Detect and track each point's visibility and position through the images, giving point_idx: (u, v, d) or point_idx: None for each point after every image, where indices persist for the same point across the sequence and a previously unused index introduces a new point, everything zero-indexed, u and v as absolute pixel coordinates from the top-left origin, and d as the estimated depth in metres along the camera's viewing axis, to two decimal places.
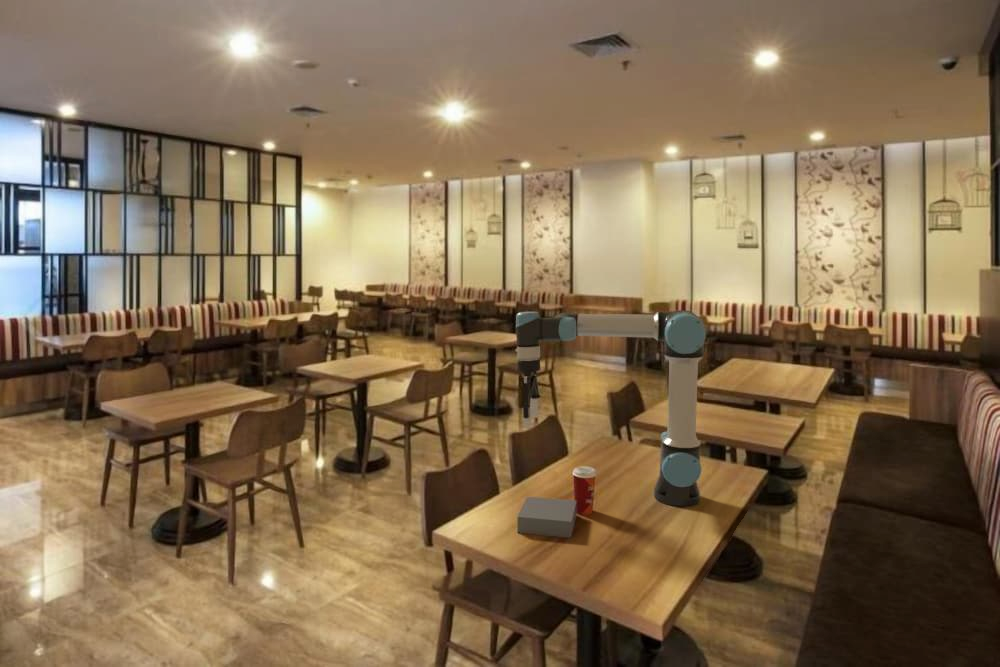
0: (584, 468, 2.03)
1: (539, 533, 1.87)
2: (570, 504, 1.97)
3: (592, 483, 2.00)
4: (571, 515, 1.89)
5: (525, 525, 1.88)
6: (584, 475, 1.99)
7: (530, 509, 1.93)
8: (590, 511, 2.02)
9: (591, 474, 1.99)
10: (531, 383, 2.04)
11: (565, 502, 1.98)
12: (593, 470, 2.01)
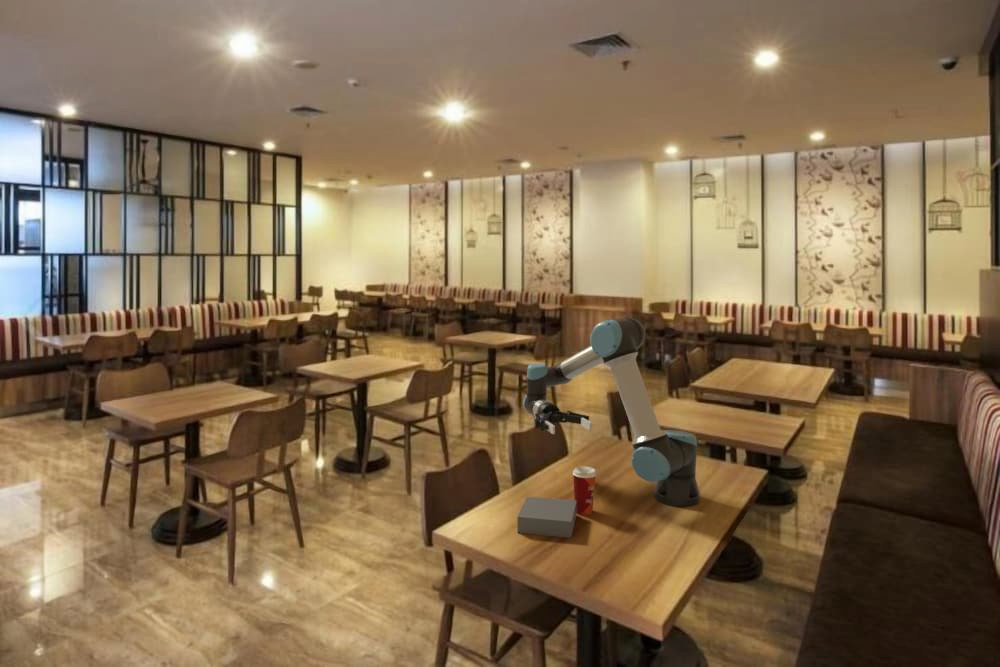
0: (584, 468, 2.03)
1: (539, 533, 1.87)
2: (570, 504, 1.97)
3: (592, 483, 2.00)
4: (571, 515, 1.89)
5: (525, 525, 1.88)
6: (584, 475, 1.99)
7: (530, 509, 1.93)
8: (590, 511, 2.02)
9: (591, 474, 1.99)
10: None
11: (565, 502, 1.98)
12: (593, 470, 2.01)
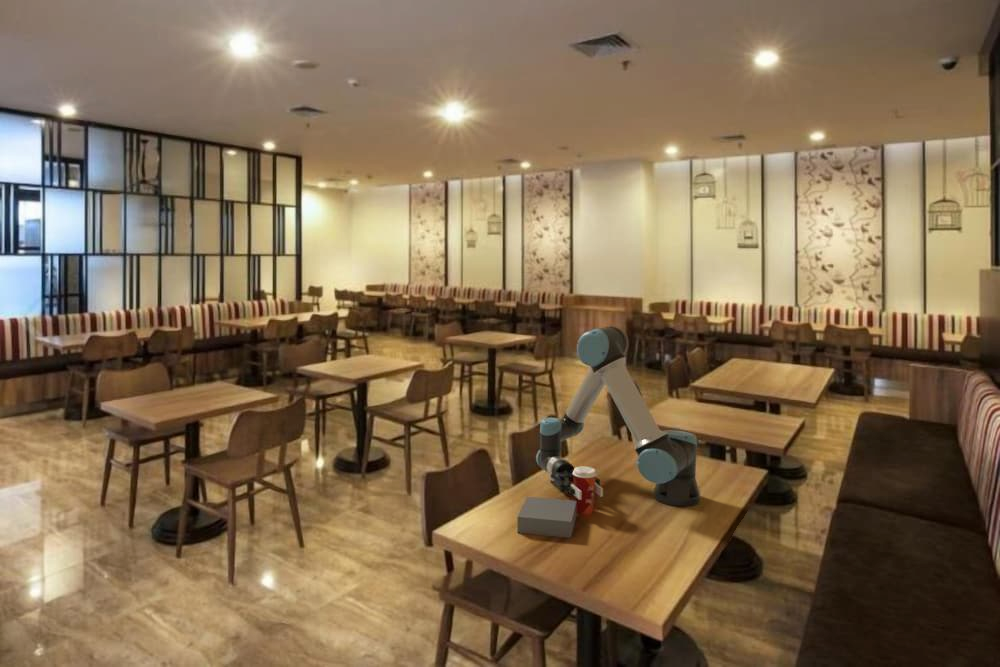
0: (584, 468, 2.03)
1: (539, 533, 1.87)
2: (570, 504, 1.97)
3: (592, 483, 2.00)
4: (571, 515, 1.89)
5: (525, 525, 1.88)
6: (584, 475, 1.99)
7: (530, 509, 1.93)
8: (590, 511, 2.02)
9: (591, 474, 1.99)
10: (564, 475, 2.11)
11: (565, 502, 1.98)
12: (593, 470, 2.01)
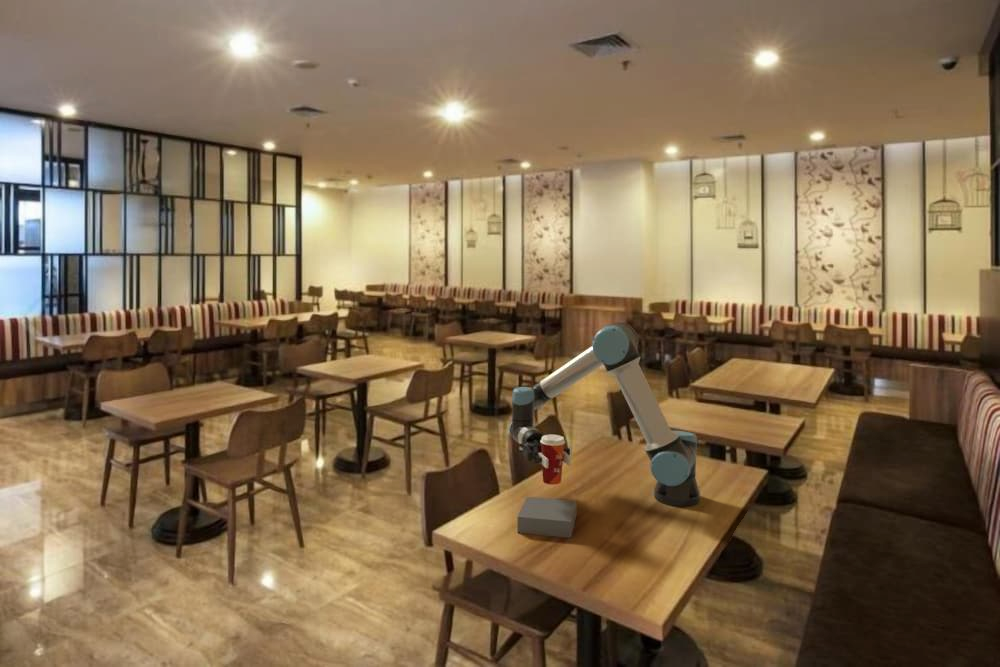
0: (552, 436, 1.95)
1: (539, 533, 1.87)
2: (570, 504, 1.97)
3: (560, 451, 1.92)
4: (571, 515, 1.89)
5: (525, 525, 1.88)
6: (552, 443, 1.90)
7: (530, 509, 1.93)
8: (558, 481, 1.93)
9: (559, 442, 1.91)
10: (533, 444, 2.03)
11: (565, 502, 1.98)
12: (562, 438, 1.93)
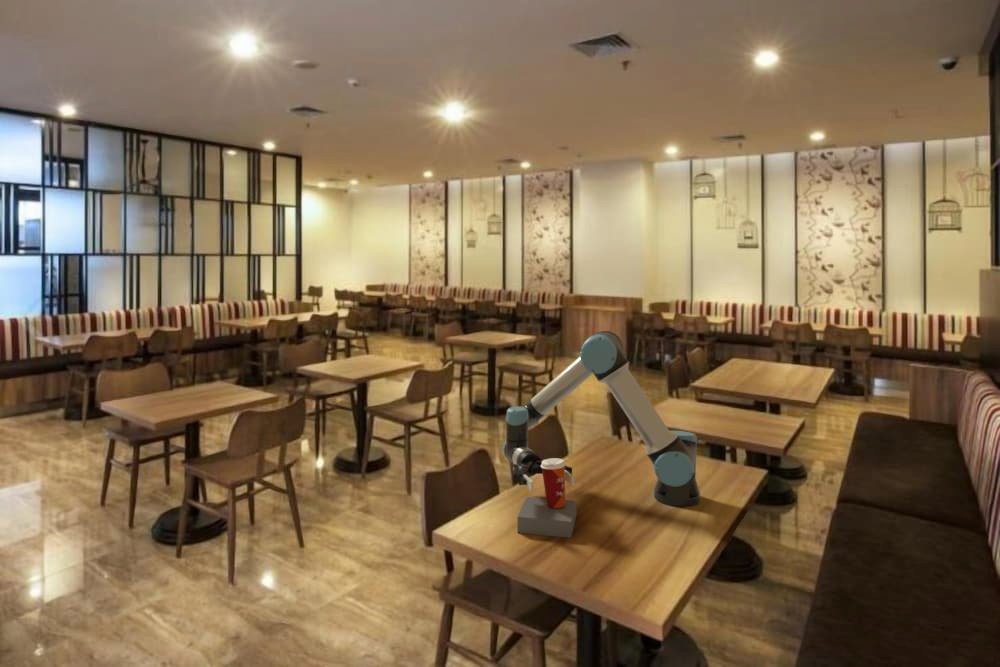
0: (552, 460, 1.96)
1: (539, 533, 1.87)
2: (570, 504, 1.97)
3: (561, 474, 1.92)
4: (571, 515, 1.89)
5: (525, 525, 1.88)
6: (552, 466, 1.91)
7: (530, 509, 1.93)
8: (562, 504, 1.93)
9: (559, 465, 1.91)
10: None
11: (565, 502, 1.98)
12: (561, 461, 1.94)
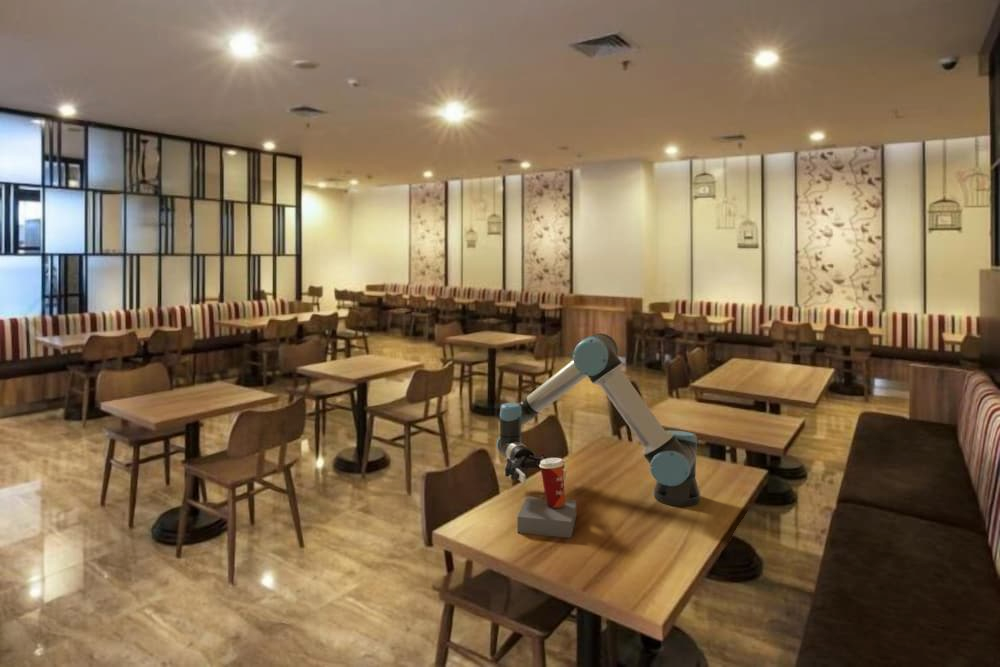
0: (551, 459, 1.96)
1: (539, 533, 1.87)
2: (570, 504, 1.97)
3: (560, 473, 1.92)
4: (571, 515, 1.89)
5: (525, 525, 1.88)
6: (550, 465, 1.91)
7: (530, 509, 1.93)
8: (562, 503, 1.93)
9: (558, 464, 1.92)
10: None
11: (565, 502, 1.98)
12: (560, 460, 1.94)
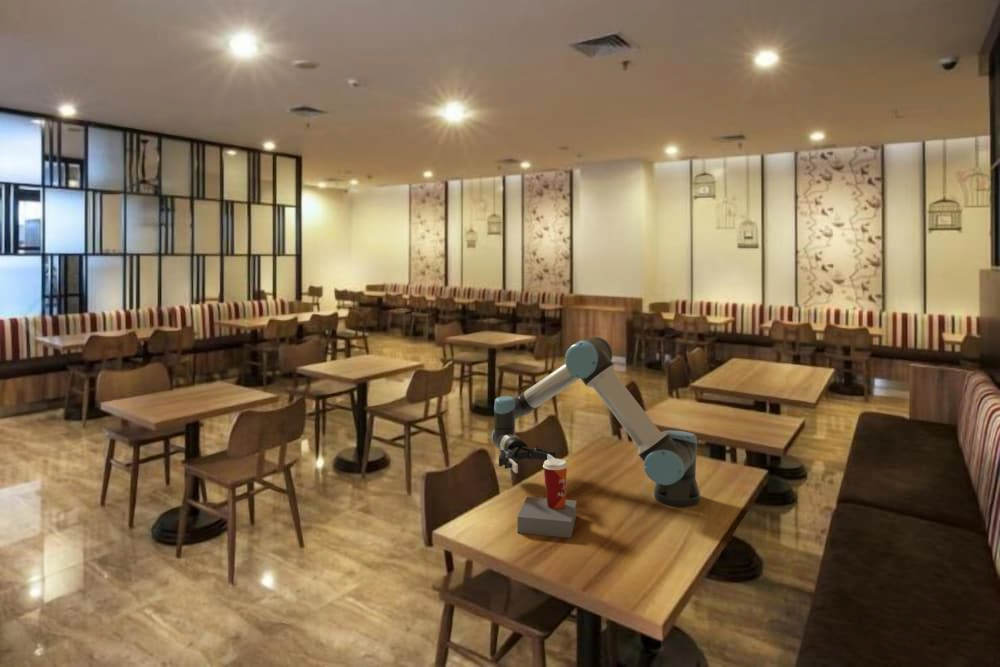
0: (555, 460, 1.95)
1: (539, 533, 1.87)
2: (570, 504, 1.97)
3: (563, 475, 1.92)
4: (571, 515, 1.89)
5: (525, 525, 1.88)
6: (554, 467, 1.91)
7: (530, 509, 1.93)
8: (562, 505, 1.93)
9: (561, 466, 1.91)
10: (513, 451, 2.14)
11: (565, 502, 1.98)
12: (564, 462, 1.93)
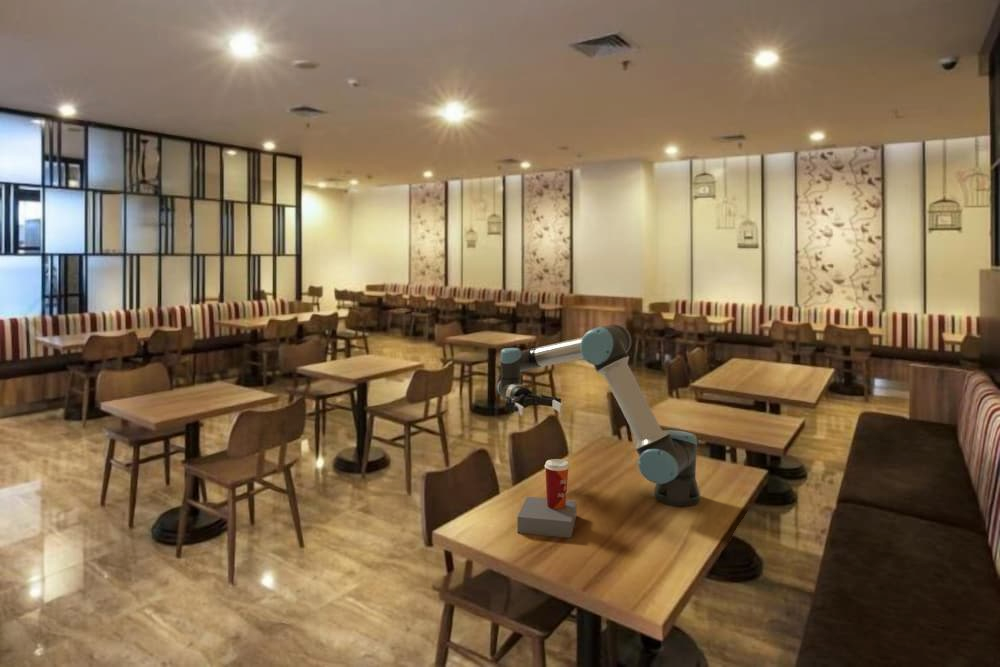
0: (557, 461, 1.95)
1: (539, 533, 1.87)
2: (570, 504, 1.97)
3: (564, 476, 1.92)
4: (571, 515, 1.89)
5: (525, 525, 1.88)
6: (556, 468, 1.91)
7: (530, 509, 1.93)
8: (562, 505, 1.93)
9: (563, 467, 1.91)
10: None
11: None
12: (566, 463, 1.93)
